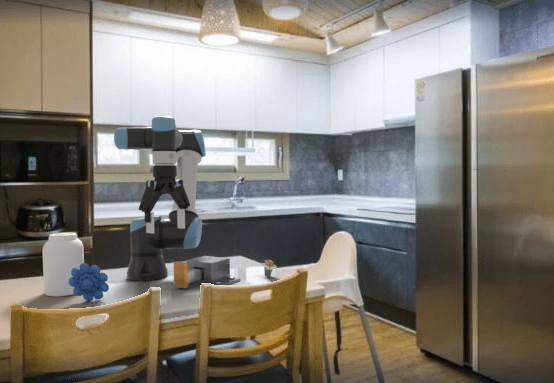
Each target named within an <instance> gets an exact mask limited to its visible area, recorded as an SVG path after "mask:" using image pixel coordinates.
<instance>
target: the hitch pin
mask: <svg viewBox="0 0 554 383" xmlns="http://www.w3.org/2000/svg"><path fill="white" fill-rule="evenodd" d="M172 263H173V287H175V288H180V289H187V288H189V286H188V285H189V284H192V283H191V282H194V281H198V280H201V279H204V268H201V267H197V268H193V269H189V270H187V263H186V261H185V262H184V261H177V260H176V261H173V262H172Z"/></svg>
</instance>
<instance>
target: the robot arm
mask: <svg viewBox="0 0 554 383" xmlns="http://www.w3.org/2000/svg"><path fill="white" fill-rule="evenodd" d="M113 140H114V145H115V148H116V149H118V150H125V151H127V150H133V151H135V150H136V151H143V152H146V153H148V154H149V155H152V164H153V167H152V177H154V180H151V179H150V180H146V182H145V189H144V192H143V196H142V198H141V201H140V203H139V207H138V210H139V211H141V212H142V213H144V216H143V217H138V218H134V219H133V220H131V222H130V225H129V226H130V228H129V229H130V231H129V233H130V236H129V237H130V260H129V264H128V268H127V271H126V279H127V280H129V281H135V282H141V281H144V282H145V281H154V280H159V279H164V278H166V277H168V268H167V266H166V262H165V259H164V256H163V250H182V249H183V250H187V249H196V248H197V247H198V246H199V245H200V242H201V240H202V239H201V238H202V232H203V220H202V218H200V217H199V214H198V213H197V212H196V199H197V198H196V197H197V184H198V183H197V182H198V166H199V165H198V164H200V163H201V162H202V159H203V158H204V157H207V156H206V145H205V139H204V134H203V132H202V131H201V130H199V129H191V130H190V129H189V130H187V129H184V130H183V129H178V128H177V125H176V119H175V118H174V117H173V116H163V115H162V116H154V117H152V120H151V126H147V127H141V126H140V127H139V126H137V127H135V126H133V127H127V126H125V127H117V128H116V129H115V130H114V134H113ZM167 194H168V195H170V196H171V198H172V199H173V205H172V206H173V207H172V210H171V211H170V212H169V213H168V216H167V218H163V217H162V215H161V214H159V215H155V212H154V211H153V209H154V207H155V206H156V204H157V203H158V201H159V199H160V198H161V196H162V195H167Z"/></svg>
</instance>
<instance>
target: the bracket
mask: <svg viewBox="0 0 554 383" xmlns="http://www.w3.org/2000/svg"><path fill="white" fill-rule="evenodd" d="M185 262H186V263H187V270H189V269H193V268H197V267H201V268H204V279H201V280H198V281H194V282H191V283H190V284H198V285H202V284H201V283H211V284H214V285H226V286H229V285H231V284H235V283H238V282H240V281H241V278H239V277H238V278H237V277H234V276H231V270H230V268H231V267H230V266H231V263H230V262H231V261H230V258H229V257H221V256H219V257H218V256H212V255H211V256H210V255H203V256H198V257H194V258H190V259H189V258H188V259H186V261H185Z"/></svg>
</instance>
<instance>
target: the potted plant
mask: <svg viewBox="0 0 554 383" xmlns="http://www.w3.org/2000/svg"><path fill="white" fill-rule="evenodd" d="M274 263H275V262H274V261H272V260H271V259H268V260H267V259H264V262H261V263H260V264H261V267H263V269H264V273H263V274H264V277H266V278H267V279H268V280H270V281H271V277H272V276H271V275H272V272H273V270H274V269H276V268H277V265H275V264H274Z"/></svg>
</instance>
